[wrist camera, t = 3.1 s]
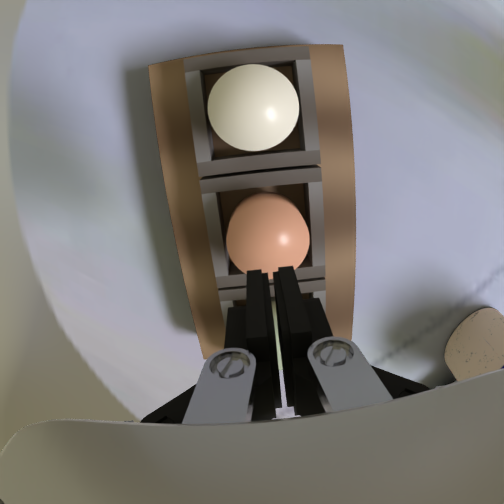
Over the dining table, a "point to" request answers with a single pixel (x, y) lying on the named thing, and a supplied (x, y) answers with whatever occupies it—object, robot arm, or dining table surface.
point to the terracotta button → (267, 233)
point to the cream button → (253, 107)
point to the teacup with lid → (476, 345)
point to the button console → (259, 180)
